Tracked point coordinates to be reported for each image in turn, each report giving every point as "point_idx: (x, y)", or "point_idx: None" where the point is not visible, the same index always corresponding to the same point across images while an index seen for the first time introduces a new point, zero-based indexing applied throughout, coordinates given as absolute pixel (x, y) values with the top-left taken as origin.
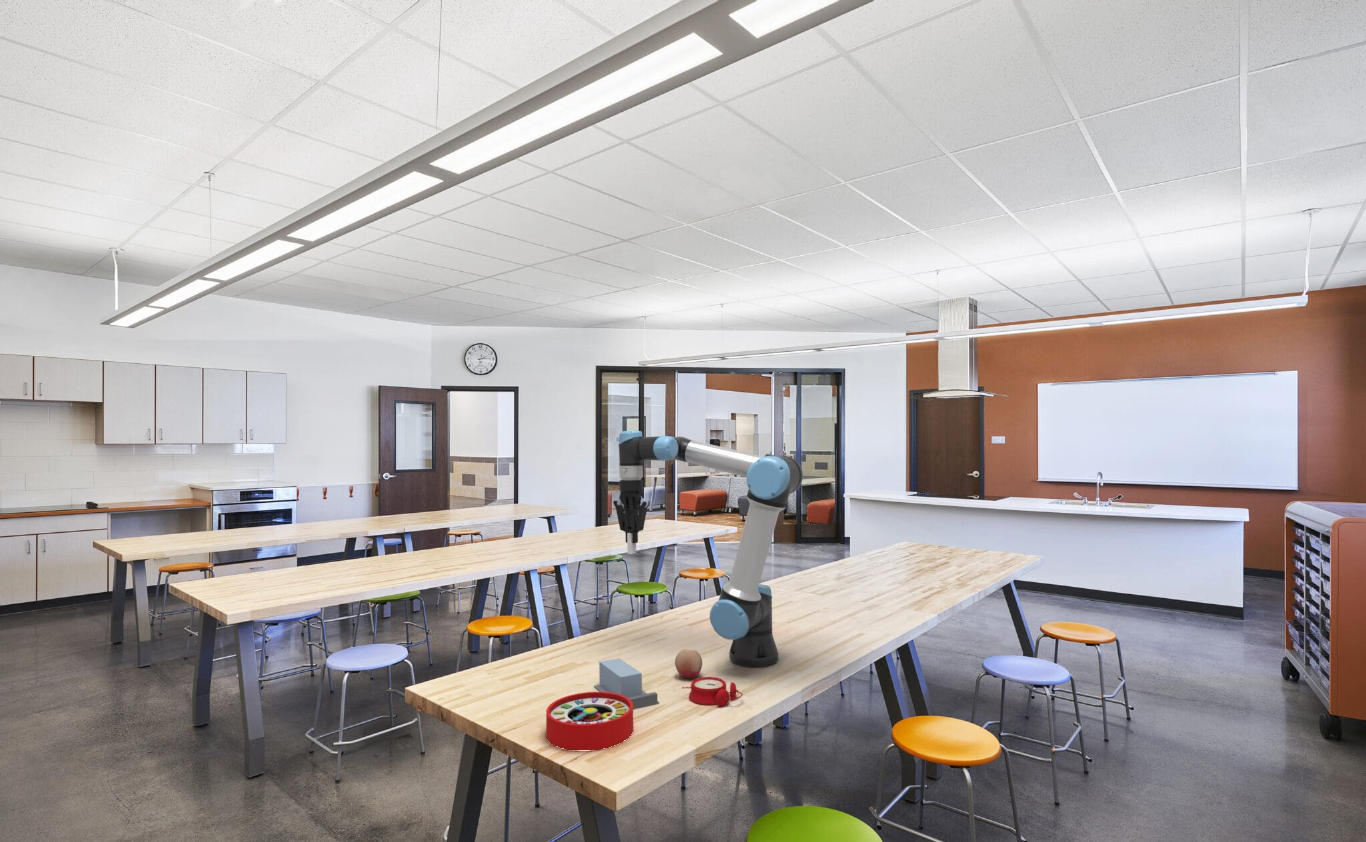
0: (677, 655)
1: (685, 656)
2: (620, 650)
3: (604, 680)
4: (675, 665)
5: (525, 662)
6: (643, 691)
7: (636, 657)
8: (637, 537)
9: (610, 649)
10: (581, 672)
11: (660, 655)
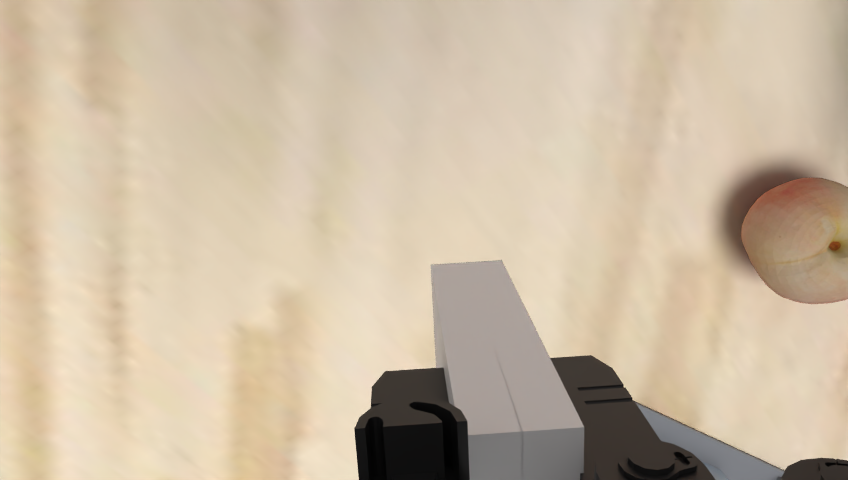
0: (796, 291)
1: (845, 299)
2: (300, 85)
3: None
4: (766, 284)
5: (74, 431)
6: (703, 437)
7: (439, 132)
8: (638, 422)
9: (245, 98)
10: (365, 399)
11: (522, 46)
